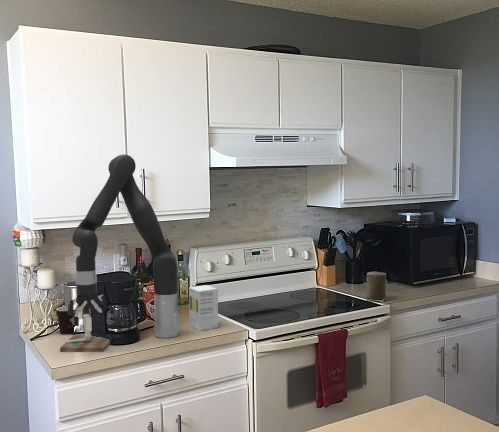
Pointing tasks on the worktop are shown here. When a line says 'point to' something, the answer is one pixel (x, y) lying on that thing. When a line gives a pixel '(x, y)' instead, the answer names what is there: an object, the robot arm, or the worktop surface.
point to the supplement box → (203, 307)
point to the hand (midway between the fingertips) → (87, 324)
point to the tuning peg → (87, 329)
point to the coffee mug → (65, 321)
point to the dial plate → (85, 344)
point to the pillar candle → (376, 286)
